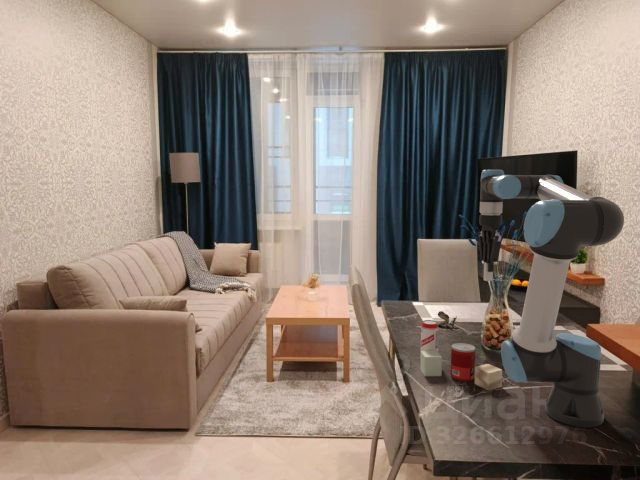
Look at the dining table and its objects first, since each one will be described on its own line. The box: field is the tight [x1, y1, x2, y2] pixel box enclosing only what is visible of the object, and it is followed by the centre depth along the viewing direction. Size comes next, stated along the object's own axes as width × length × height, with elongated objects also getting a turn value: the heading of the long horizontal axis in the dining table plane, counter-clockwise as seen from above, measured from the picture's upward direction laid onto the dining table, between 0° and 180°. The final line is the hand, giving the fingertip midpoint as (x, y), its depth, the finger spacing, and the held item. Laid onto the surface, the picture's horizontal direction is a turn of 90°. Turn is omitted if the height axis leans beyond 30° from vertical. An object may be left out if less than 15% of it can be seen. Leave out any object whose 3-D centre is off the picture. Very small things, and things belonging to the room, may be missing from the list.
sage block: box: [419, 350, 443, 377], centre depth 172 cm, size 6×6×7 cm
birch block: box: [474, 363, 503, 392], centre depth 162 cm, size 6×6×6 cm
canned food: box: [450, 342, 476, 382], centre depth 168 cm, size 8×8×11 cm
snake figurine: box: [437, 310, 458, 328], centre depth 227 cm, size 8×7×9 cm
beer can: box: [419, 319, 440, 362], centre depth 180 cm, size 6×6×16 cm
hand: (488, 280), depth 173 cm, fingers closed
